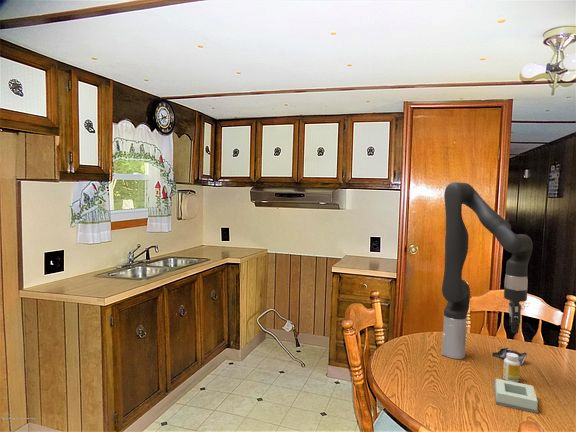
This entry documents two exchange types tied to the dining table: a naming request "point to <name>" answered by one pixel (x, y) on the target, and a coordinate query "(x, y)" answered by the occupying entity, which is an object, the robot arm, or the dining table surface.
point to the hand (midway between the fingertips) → (513, 329)
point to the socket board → (515, 395)
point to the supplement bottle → (511, 367)
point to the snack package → (504, 351)
